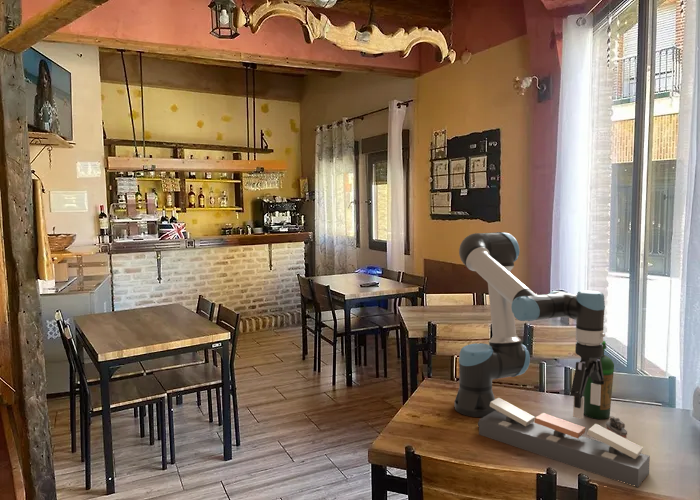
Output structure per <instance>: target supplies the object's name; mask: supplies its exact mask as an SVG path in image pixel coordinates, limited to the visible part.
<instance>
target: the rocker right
mask: <svg viewBox="0 0 700 500" xmlns="http://www.w3.org/2000/svg"><path fill="white" fill-rule="evenodd" d="M586 435H588V436H590V437H592V438H593V439H595V440H597V441H600V442H603V443H605V444H607V445H609V446H611V447H613V448H615V449H617V450H619V451H620V452H622V453H624V454H626V455H628V456H630V457H632V458H634V459H636V458H637V457H638V456H639V455H640V454H641V453H643V449H644V447H643V446H642V445H639V444H638V443H635V442H633V441H631V440H629V439H627V438H626V439H625V438H623V437H622V436H620V435H618V434H616V433H614V432H612V431H610V430H608V429H607V427H606V428H605V427H603V426H601V425H599V424H598V423H594V424H593V425H592V426H591V427H590V428H588V430H587V433H586Z"/></svg>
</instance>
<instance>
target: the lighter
mask: <svg viewBox="0 0 700 500" xmlns="http://www.w3.org/2000/svg"><path fill="white" fill-rule="evenodd" d="M605 425H606V429H608V430H610V431H612V432H614V433H616V434H618V435H620V436H622V437H623V438H625V439H627V435H628V430H627V429H625V427H626V424H625V422H623V421H621V420H620V418H619V417H616V416H610V417H609V421H606V423H605Z"/></svg>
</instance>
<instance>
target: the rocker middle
mask: <svg viewBox="0 0 700 500" xmlns="http://www.w3.org/2000/svg"><path fill="white" fill-rule="evenodd" d="M534 422H535V423H537V424H540V425H542V426H545V427H548V428H551V429H553V430H556V431H559V432H562V433H564V434H567V435H570V436H572V437H575V438H579V437H580V436H583V435H584V434H585V433H586V427H585V426H582V425H579V424H578V423H577V424H576V423H574V422H571V421H568V420H565V419H562V418H560V417H558V416H554V415H550V414H548V413H545V412H542V413H540V414H539V415H537V416H535V418H534Z"/></svg>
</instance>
